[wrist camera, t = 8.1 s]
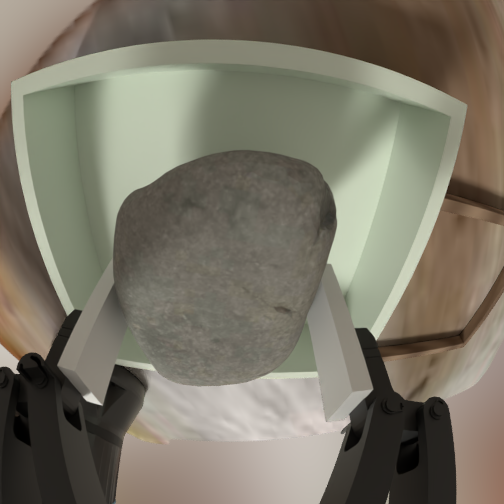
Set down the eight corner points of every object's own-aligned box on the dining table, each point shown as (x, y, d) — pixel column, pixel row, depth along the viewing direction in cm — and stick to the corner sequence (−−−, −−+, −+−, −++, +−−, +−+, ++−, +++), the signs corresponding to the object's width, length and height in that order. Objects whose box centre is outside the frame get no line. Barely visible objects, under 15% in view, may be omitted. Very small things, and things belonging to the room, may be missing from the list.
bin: (111, 311, 23) (91, 359, 19) (69, 73, 12) (11, 81, 7) (338, 324, 25) (353, 374, 20) (409, 92, 13) (467, 105, 8)
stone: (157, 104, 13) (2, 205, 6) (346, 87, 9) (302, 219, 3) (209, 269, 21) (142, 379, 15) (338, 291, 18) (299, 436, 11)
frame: (327, 355, 28) (330, 366, 27) (396, 181, 17) (406, 189, 16) (459, 339, 30) (463, 346, 28) (528, 220, 18) (536, 227, 17)
